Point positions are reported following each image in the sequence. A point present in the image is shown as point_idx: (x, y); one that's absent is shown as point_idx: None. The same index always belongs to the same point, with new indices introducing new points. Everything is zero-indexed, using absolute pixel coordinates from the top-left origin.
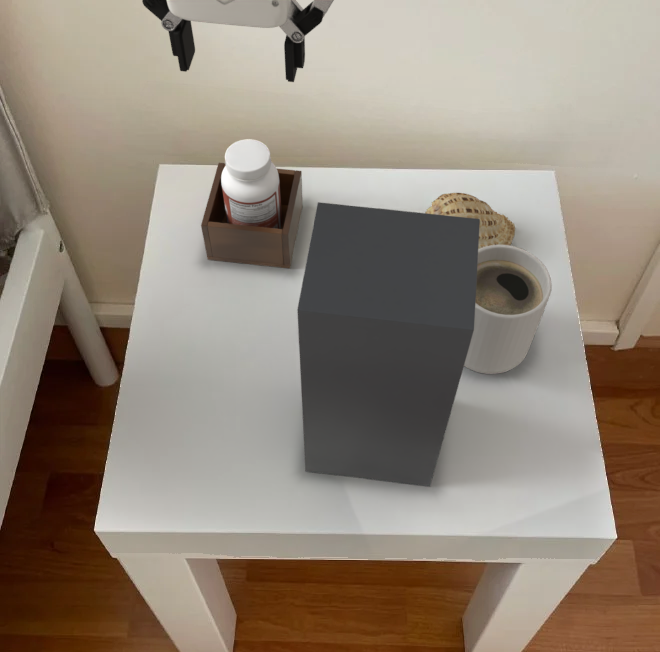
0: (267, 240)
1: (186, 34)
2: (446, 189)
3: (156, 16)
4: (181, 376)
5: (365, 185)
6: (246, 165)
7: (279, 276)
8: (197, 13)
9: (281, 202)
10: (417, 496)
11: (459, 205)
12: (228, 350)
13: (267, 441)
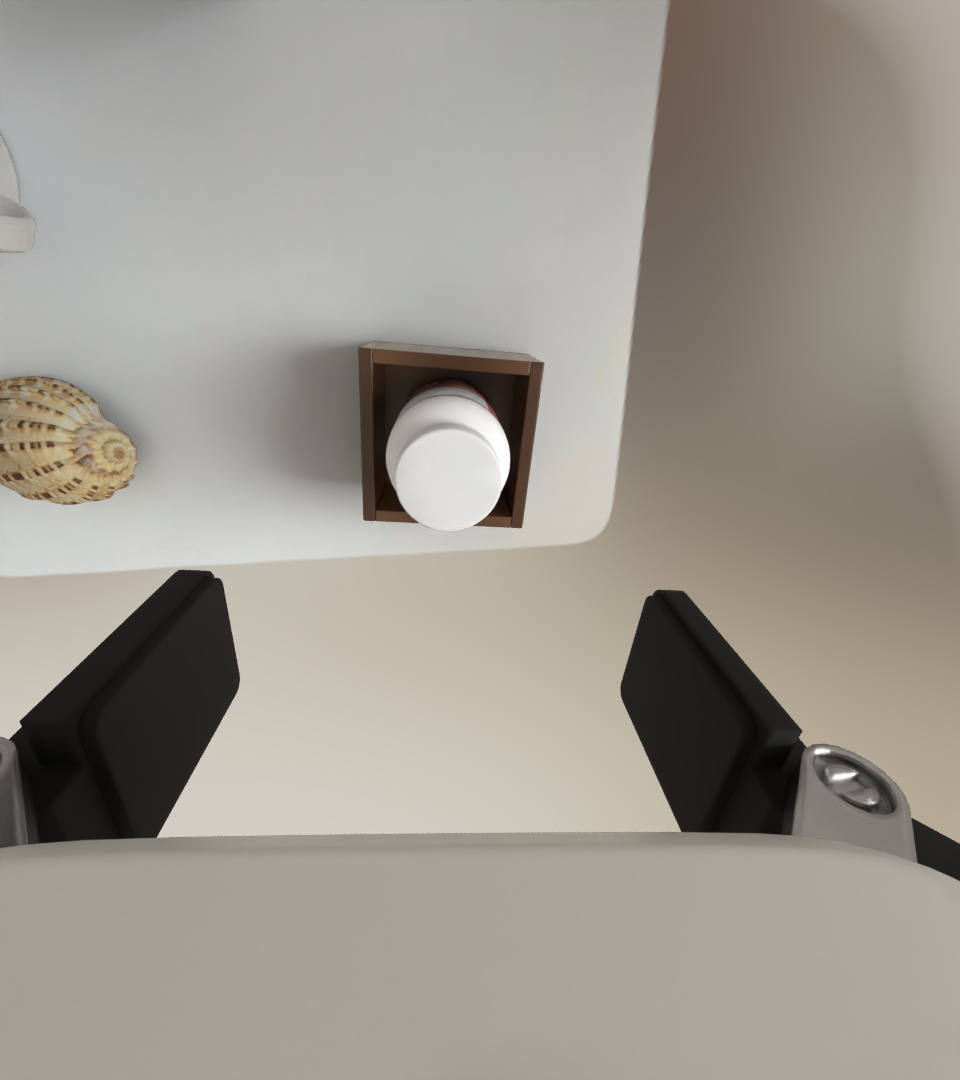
0: (407, 349)
1: (696, 739)
2: (140, 542)
3: (927, 826)
4: (557, 6)
5: (280, 539)
6: (446, 449)
7: (391, 320)
8: (786, 947)
9: None
10: None
11: (25, 460)
12: (465, 99)
13: None
